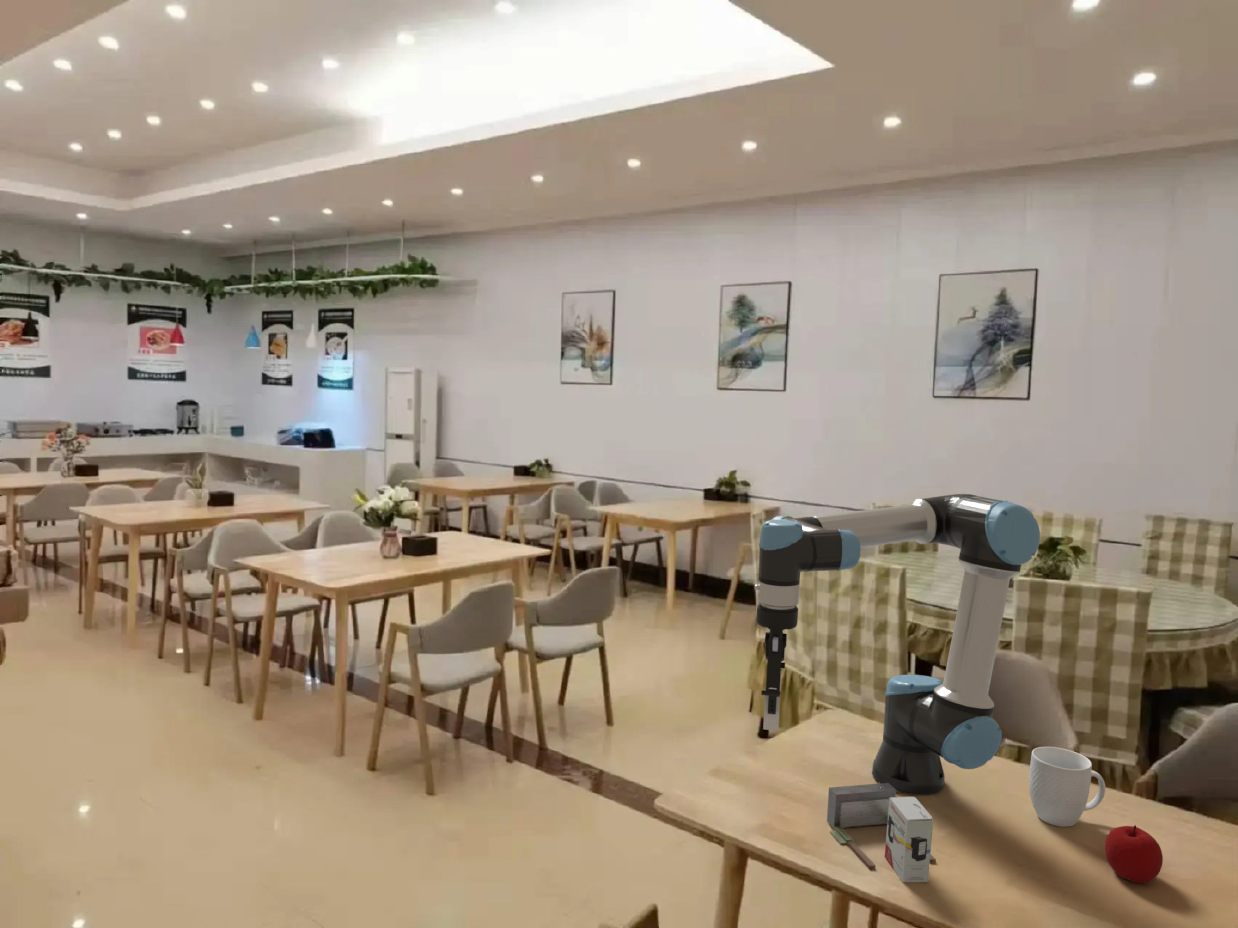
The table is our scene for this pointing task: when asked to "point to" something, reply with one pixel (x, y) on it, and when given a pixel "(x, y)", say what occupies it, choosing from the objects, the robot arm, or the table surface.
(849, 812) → the grey block
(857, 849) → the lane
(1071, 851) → the table surface
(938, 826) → the table surface
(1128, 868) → the apple
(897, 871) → the ink box
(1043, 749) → the mug
